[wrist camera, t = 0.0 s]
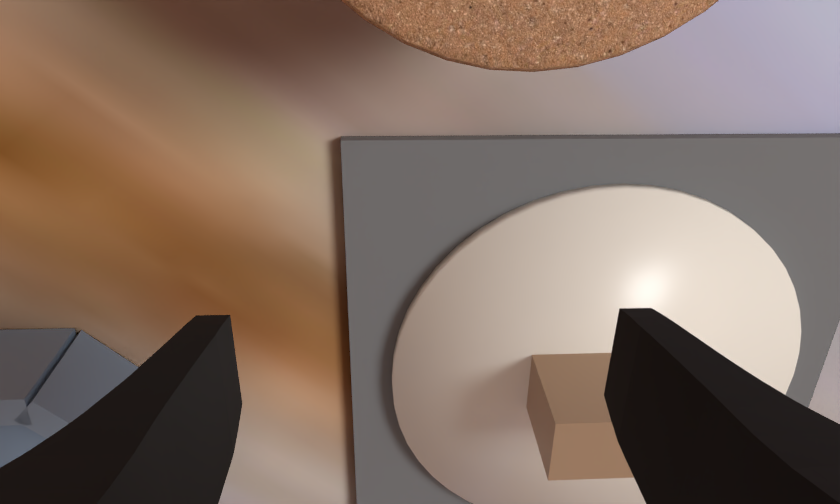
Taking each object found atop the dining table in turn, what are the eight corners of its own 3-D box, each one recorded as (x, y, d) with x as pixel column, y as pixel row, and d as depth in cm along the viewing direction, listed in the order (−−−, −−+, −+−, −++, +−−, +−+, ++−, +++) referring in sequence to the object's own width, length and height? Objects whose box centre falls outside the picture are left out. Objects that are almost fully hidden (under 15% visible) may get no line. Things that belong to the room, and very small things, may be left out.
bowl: (224, 559, 29) (204, 643, 26) (-65, 570, 29) (-124, 659, 25) (181, 326, 24) (149, 395, 20) (-180, 333, 23) (-275, 407, 20)
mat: (760, 520, 30) (764, 528, 30) (358, 536, 29) (358, 544, 29) (896, 133, 22) (904, 136, 21) (341, 136, 21) (340, 140, 21)
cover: (739, 504, 29) (793, 593, 25) (393, 517, 28) (395, 611, 24) (844, 180, 22) (939, 236, 18) (390, 185, 21) (392, 244, 18)
